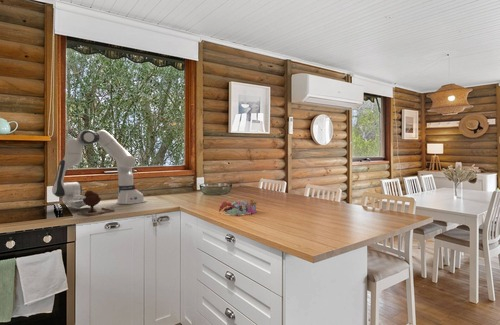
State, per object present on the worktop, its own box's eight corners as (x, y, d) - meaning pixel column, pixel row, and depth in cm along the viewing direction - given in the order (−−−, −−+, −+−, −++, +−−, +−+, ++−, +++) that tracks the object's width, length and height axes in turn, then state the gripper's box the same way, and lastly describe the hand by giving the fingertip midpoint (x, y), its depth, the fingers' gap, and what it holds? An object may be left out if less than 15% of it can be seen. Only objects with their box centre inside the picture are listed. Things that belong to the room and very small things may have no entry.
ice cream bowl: (93, 214, 202) (92, 191, 202) (79, 213, 205) (78, 191, 204) (104, 210, 213) (104, 189, 212) (91, 210, 215) (90, 189, 215)
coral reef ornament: (232, 208, 224) (232, 195, 224) (261, 210, 214) (261, 197, 214) (214, 214, 202) (214, 201, 201) (246, 218, 192) (246, 203, 191)
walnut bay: (102, 209, 218) (102, 207, 218) (114, 211, 211) (114, 209, 211) (77, 213, 203) (77, 212, 203) (88, 216, 196) (88, 214, 196)
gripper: (62, 199, 210) (73, 201, 202) (91, 195, 227) (102, 196, 220) (63, 208, 210) (73, 210, 203) (92, 203, 227) (102, 205, 220)
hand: (88, 203), depth 211 cm, fingers closed, pressing on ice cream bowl
